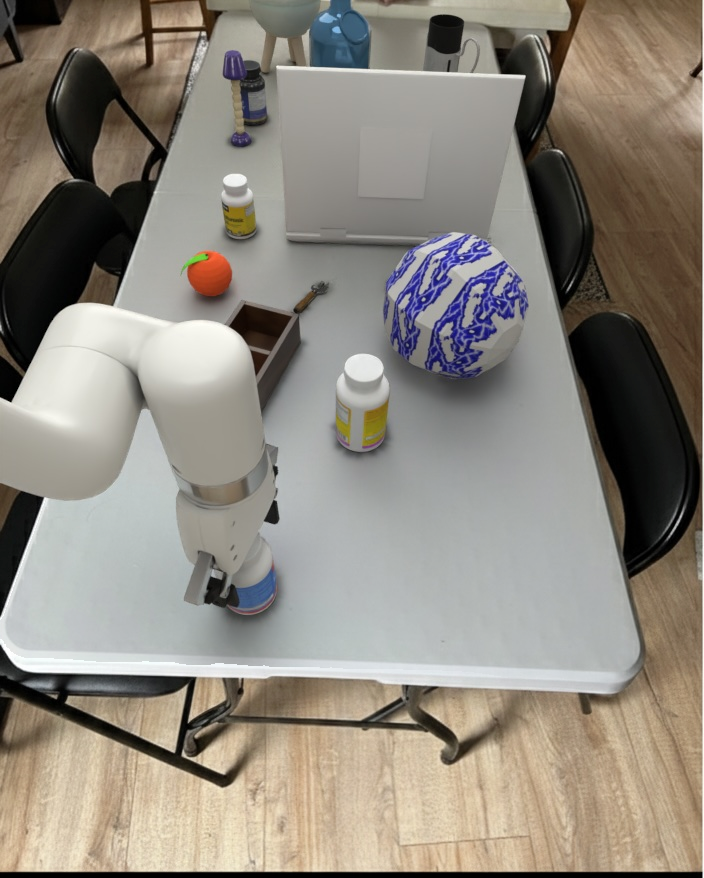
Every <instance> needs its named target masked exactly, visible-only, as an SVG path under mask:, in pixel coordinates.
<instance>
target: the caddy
mask: <svg viewBox="0 0 704 878" xmlns="http://www.w3.org/2000/svg"><path fill="white" fill-rule="evenodd" d="M300 322H301V321H300V314H299V313H298V314H296V313H294V312H291V311H287V310H284V309H279V308H275V307H271V306H268V305H263V304H260V303H257V302H253V301H249V300H245V299H241V300H240V301H239V303H238V304H237V306H235V308H234V310H233V311H232V312H231V314H230V316H228V318H227V319H226V322H225V323H223V324H224V325H226V326H228V327H230V328H231V329H233V330H234V331H236V332H237V333H238V334H239V335H240V336H241V337H242V338H243V339H244V341H245V342H246V344H247V345H248V347H249V349H250V352H251V355H252V359H253V364H254V370H255V376H256V383H257V389H258V396H259V403H260V409H261V413H262V411H263V410H264V408H265V406H266V405H267V403H268V401H269V399H270V398H271V396H272V394H273V392H274V391H275V389H276V387H277V386H278V383H279V382H280V380H281V378H282V376H283V375H284V373H285V371H286V370H287V367H288V366H289V364H290V363H291V360H292V359H293V357H294V355H295V353H296V352H297V350H298V348H299V346H301V323H300Z"/></svg>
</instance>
